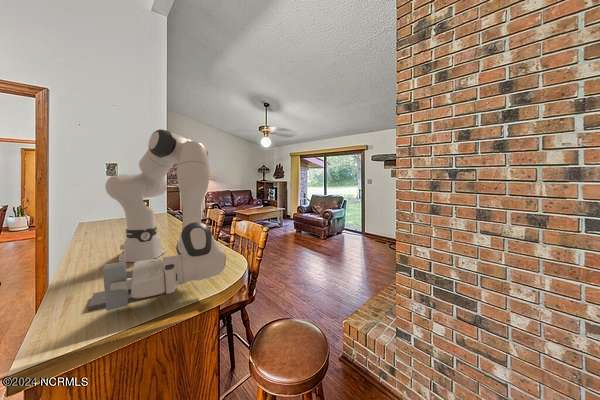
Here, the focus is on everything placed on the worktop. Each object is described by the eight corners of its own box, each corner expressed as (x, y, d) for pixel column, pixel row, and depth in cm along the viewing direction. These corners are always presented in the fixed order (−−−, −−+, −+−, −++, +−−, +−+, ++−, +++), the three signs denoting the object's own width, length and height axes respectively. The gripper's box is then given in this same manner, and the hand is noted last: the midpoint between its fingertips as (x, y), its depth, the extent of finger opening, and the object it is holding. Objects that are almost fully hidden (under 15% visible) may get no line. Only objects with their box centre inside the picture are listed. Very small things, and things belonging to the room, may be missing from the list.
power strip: (94, 300, 75) (93, 291, 74) (174, 283, 86) (173, 275, 86) (88, 314, 67) (87, 304, 67) (177, 293, 79) (176, 285, 78)
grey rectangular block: (108, 303, 66) (105, 264, 65) (128, 298, 69) (125, 261, 68) (106, 310, 63) (102, 269, 62) (127, 305, 65) (124, 266, 64)
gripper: (166, 251, 80) (114, 259, 73) (172, 272, 63) (105, 285, 56) (168, 270, 81) (116, 279, 74) (174, 295, 64) (107, 311, 57)
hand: (111, 282), depth 65 cm, fingers closed on grey rectangular block, 4 cm apart
